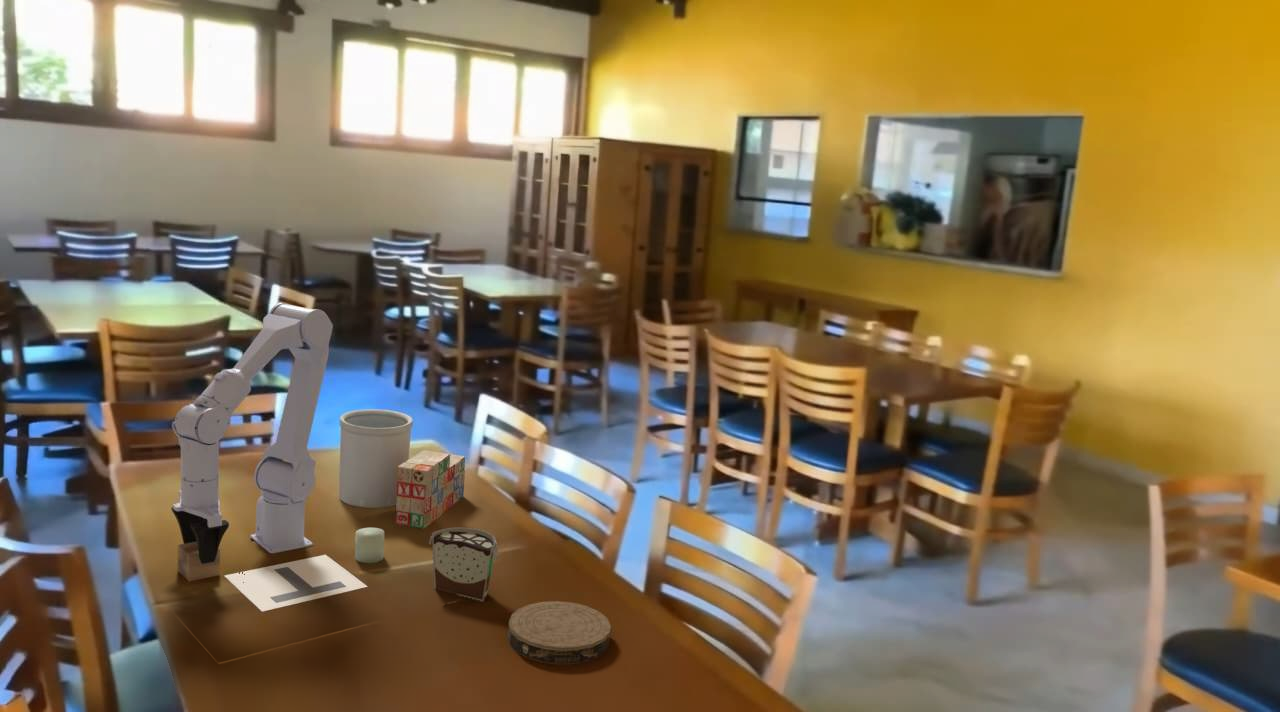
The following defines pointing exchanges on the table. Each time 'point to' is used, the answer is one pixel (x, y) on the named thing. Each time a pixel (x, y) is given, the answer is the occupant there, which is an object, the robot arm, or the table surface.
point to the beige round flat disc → (559, 632)
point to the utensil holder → (372, 456)
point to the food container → (463, 561)
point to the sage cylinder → (369, 545)
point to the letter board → (294, 582)
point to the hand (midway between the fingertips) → (199, 554)
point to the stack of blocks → (428, 487)
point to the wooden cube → (195, 563)
